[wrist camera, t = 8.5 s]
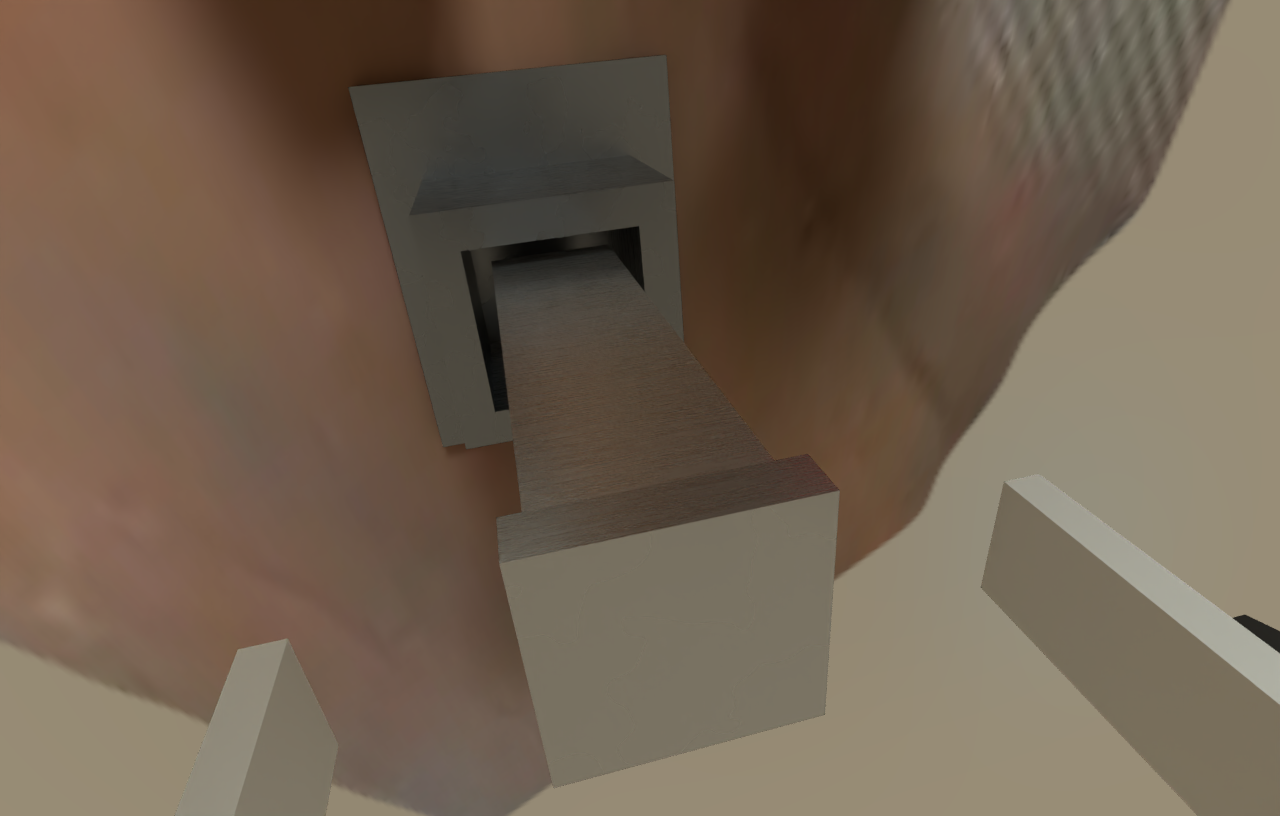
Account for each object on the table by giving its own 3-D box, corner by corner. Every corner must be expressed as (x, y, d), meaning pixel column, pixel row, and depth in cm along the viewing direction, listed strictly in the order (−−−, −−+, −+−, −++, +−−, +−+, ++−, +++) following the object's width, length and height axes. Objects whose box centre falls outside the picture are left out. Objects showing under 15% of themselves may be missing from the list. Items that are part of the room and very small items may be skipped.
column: (479, 252, 27) (499, 563, 10) (616, 233, 28) (839, 490, 11) (505, 380, 30) (554, 791, 13) (629, 359, 30) (824, 718, 14)
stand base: (351, 86, 30) (303, 97, 21) (660, 55, 32) (733, 53, 23) (443, 438, 38) (436, 549, 29) (682, 394, 40) (741, 486, 32)
